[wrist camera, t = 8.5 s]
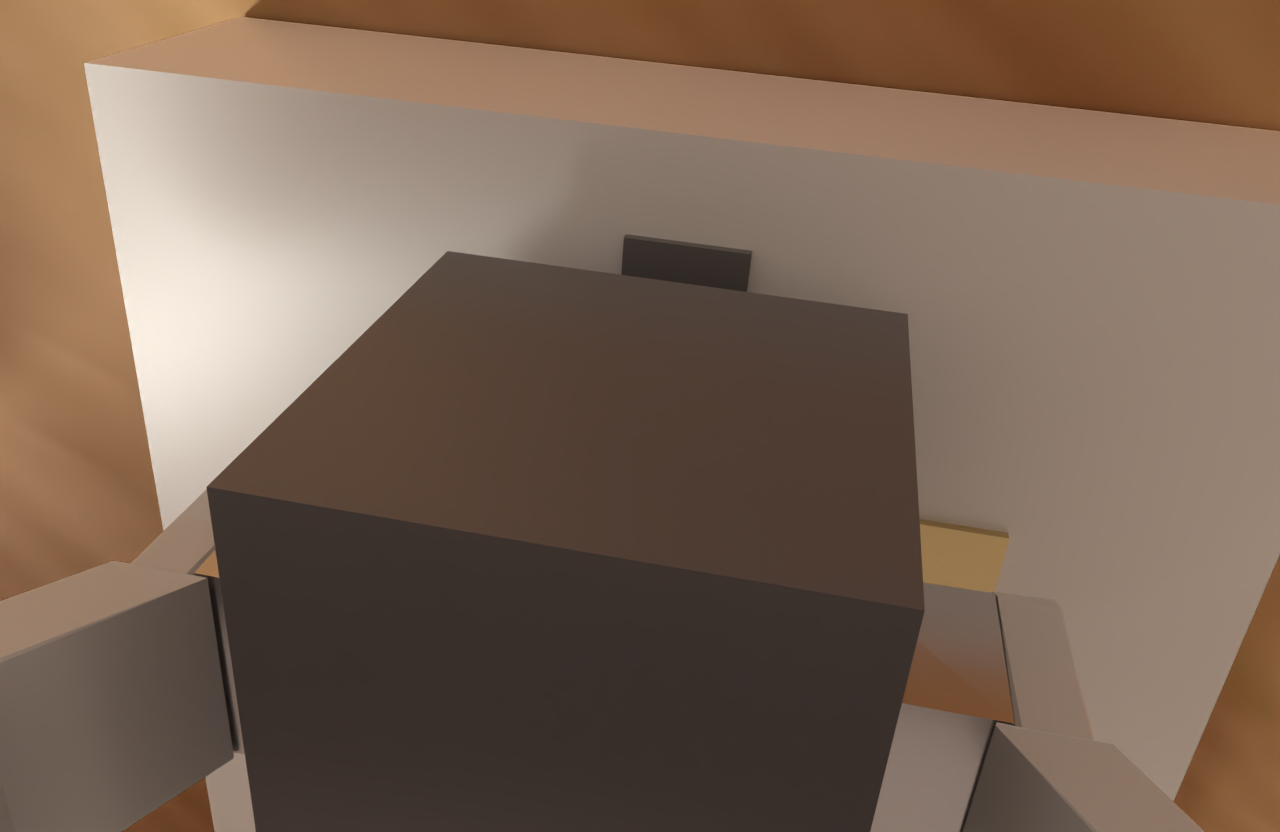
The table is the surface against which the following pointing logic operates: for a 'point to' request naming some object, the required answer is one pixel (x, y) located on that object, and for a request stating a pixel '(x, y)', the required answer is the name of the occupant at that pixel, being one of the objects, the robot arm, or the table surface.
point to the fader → (578, 563)
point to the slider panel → (758, 263)
